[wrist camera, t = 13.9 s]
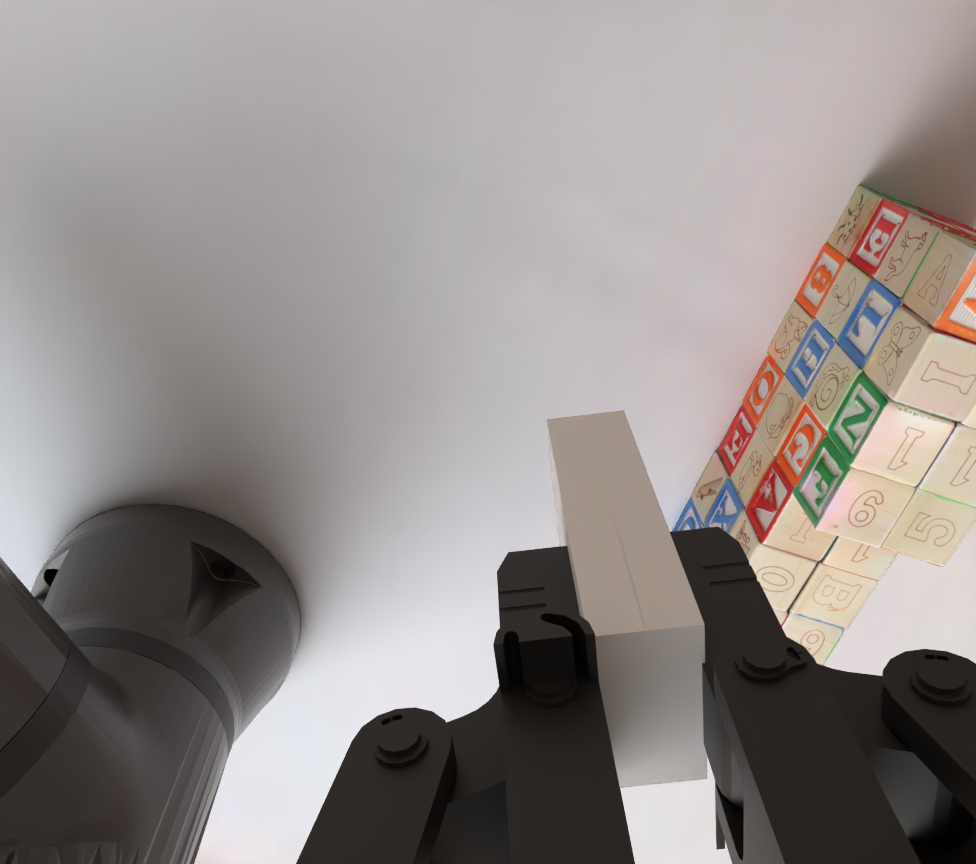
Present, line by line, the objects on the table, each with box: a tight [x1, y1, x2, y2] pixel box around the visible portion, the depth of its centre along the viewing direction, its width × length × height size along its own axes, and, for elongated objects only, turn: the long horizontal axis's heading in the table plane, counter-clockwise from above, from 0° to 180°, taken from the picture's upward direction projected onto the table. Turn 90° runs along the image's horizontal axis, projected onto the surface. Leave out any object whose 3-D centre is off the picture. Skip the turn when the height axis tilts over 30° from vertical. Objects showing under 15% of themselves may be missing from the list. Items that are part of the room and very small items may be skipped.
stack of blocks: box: [673, 185, 976, 665], centre depth 42 cm, size 21×6×12 cm, turn 160°
